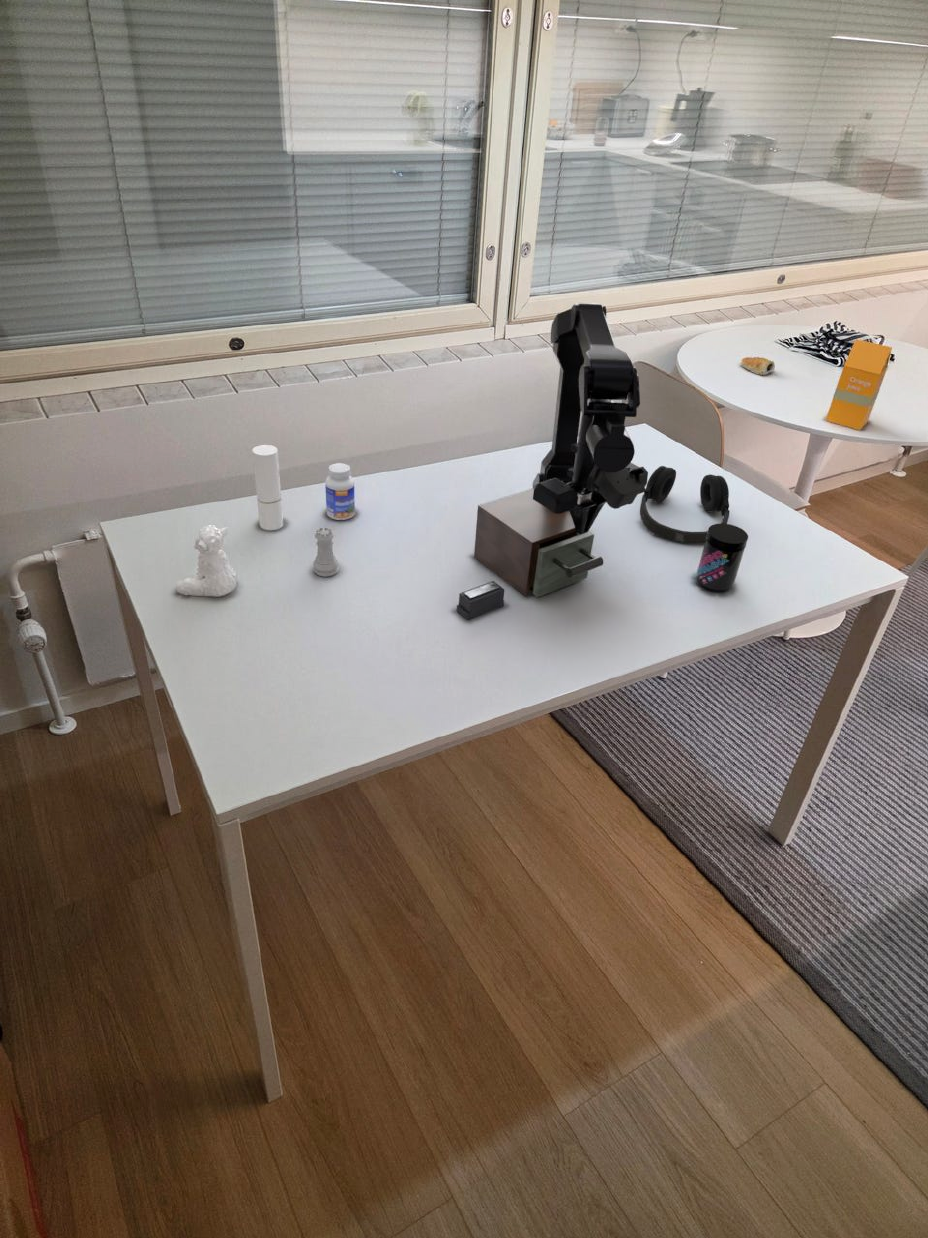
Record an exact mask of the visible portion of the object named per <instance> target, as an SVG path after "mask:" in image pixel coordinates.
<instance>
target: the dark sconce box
mask: <svg viewBox="0 0 928 1238" xmlns="http://www.w3.org/2000/svg"><path fill="white" fill-rule="evenodd" d="M458 594H459V596H458V604H457V605H456V612H457V613H458V614H459V615H461V616H462V617H463V618H464V619H466V621H468V620H471V619H474V618H476V617H479V616H481V615H485V614H487V613H489V612H492V611H494V610H496V609H500V608H502V607H504V605H505V600H504V597H505V588H503V587H502V586H501V585H500V584H498V583H497V582H496V581H494V580H492V581H489V582H487V583H484V584H481V585H479V586H476V587H473V588H470V589H467V590H465V591H461V592H460V593H458Z"/></svg>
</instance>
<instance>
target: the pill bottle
mask: <svg viewBox="0 0 928 1238" xmlns="http://www.w3.org/2000/svg"><path fill="white" fill-rule="evenodd" d="M351 474H352V473H351V467H350V465H348V464H346V463H342V462H339V463H333V464H330V465H329V466H328V476H327V477H326V478H325V480H324V481H325V483H324V484H325V511H326V515H327V516H328V517H329V518H330V519H332V520H335V521H336V520H337V521H345V520H349V519H351V518H353V517H354V516H355V514H356V506H355V503H356V499H355V479H354V477H353V476H351Z"/></svg>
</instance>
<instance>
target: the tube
mask: <svg viewBox="0 0 928 1238" xmlns="http://www.w3.org/2000/svg"><path fill="white" fill-rule="evenodd" d="M251 451H252V459H253V470H254V471H253V472H254V479H255V480H254V481H255V490H256V501H257V511H258V522H259V527H260V529H263V530H265V531H277V530H280V529H281V528H283V526H284V517H283V503H282V489H281V478H280V465H279V463H280V462H279V451H278V448H277V446H274V445H271V444H261V445H256V446H254V447H253V448H252V450H251Z"/></svg>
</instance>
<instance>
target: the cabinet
mask: <svg viewBox="0 0 928 1238" xmlns="http://www.w3.org/2000/svg"><path fill="white" fill-rule="evenodd" d="M533 493H534V488H533V487H532V488H530V489H526V490H523V491H519V492H517V493H513V494H510V495H507V496H503V497H500V498H497V499H494V500H491V501H488V502H483V503H480V504H478V505H477V514H476V524H475V528H476V529H475V536H474V537H475V540H474V550H473V558H475V559H476V560H477V561H478V562H480V563H481V564H482V565H484V567H486V568H487V569H489V570H490V571H492V572H493V573H494V574H495V575H497V576H498V577H499V578H501V579H502V581H505V582H506V583H507V584H508V585H510V586H511V587H513V589H515V590H516V591H518V592H519V593H520V594H522V595H523V596H524V597H528V596H530V595H534V594H533V588H534V586H533V587H530V583H531V576H532V568H533V560H534V552H535V546H536V545H538V544H541V543H544V542H547V541H550V540H553V539H555V538H558V537H561V536H564V535H567V534H570V533H572V532H575V531H576V529H575V526H574V523H573V520H572V517H571V514H570V511H567V512H564V513H561V514H557V513H554V512H552V511H551V510H549V509H547V508H546V507H544V506H543V505H541V504H540V503H538V502H537V501H535V500H533ZM583 533H585V532H583Z"/></svg>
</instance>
